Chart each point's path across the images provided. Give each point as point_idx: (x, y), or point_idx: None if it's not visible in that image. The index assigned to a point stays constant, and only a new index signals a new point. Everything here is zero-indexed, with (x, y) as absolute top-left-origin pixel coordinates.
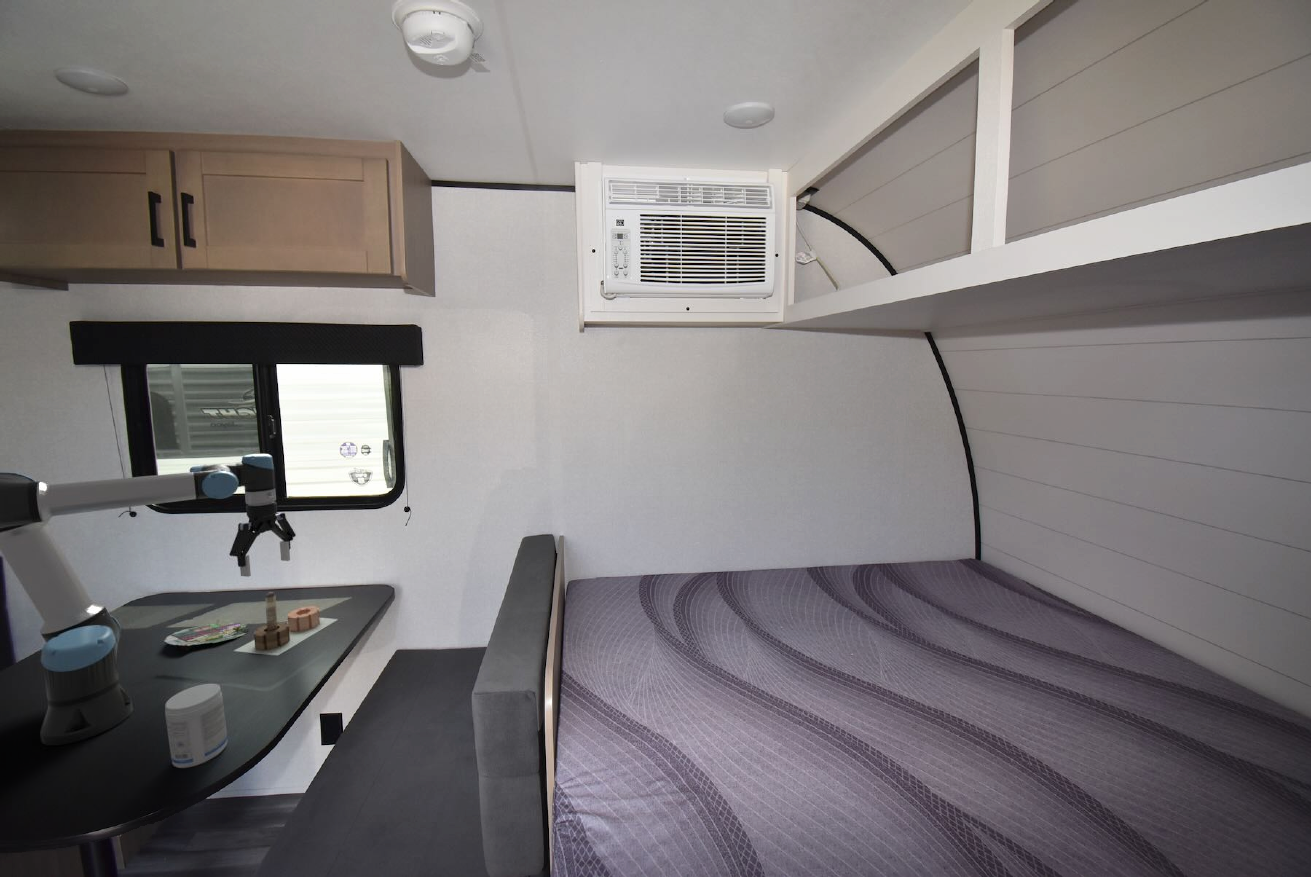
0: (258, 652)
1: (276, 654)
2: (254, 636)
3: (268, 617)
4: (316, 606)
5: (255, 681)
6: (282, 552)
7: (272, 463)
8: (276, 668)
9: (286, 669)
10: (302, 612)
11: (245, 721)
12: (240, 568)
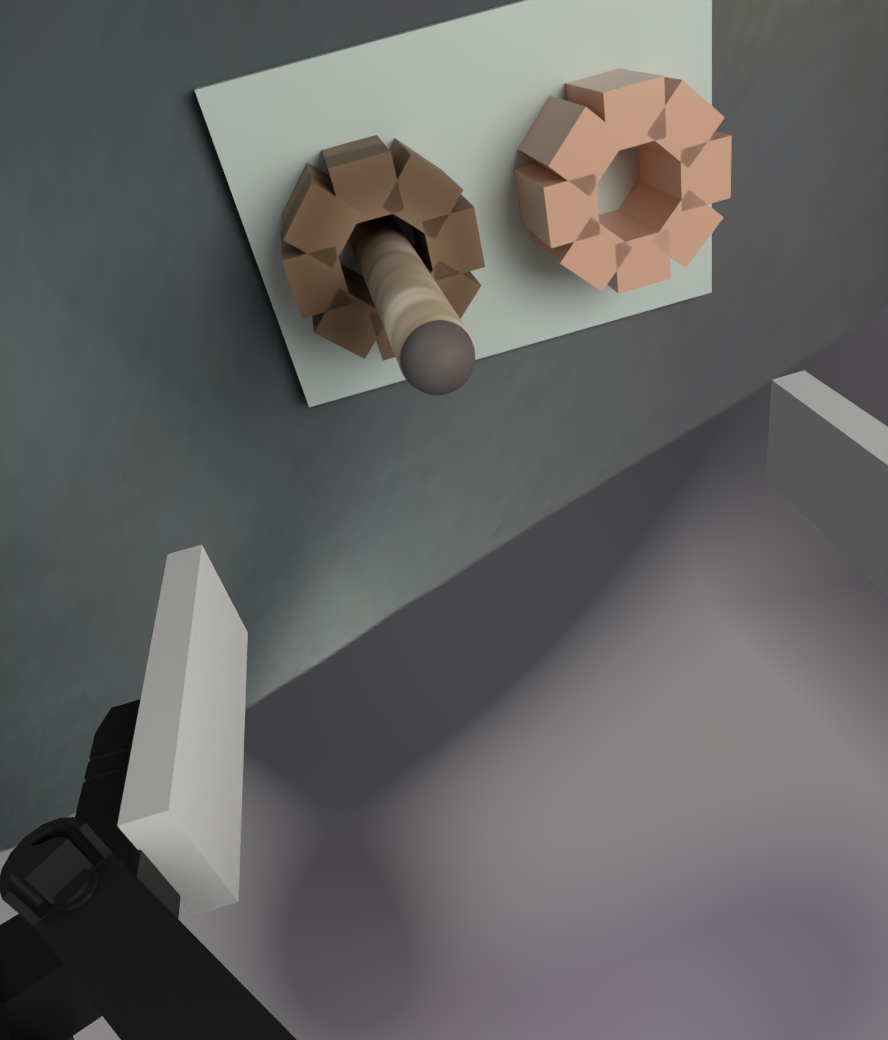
0: (272, 276)
1: (311, 392)
2: (284, 235)
3: (376, 309)
4: (730, 189)
5: (154, 506)
6: (848, 472)
7: None
8: (260, 476)
9: (279, 520)
10: (654, 144)
11: (33, 716)
12: (156, 632)
